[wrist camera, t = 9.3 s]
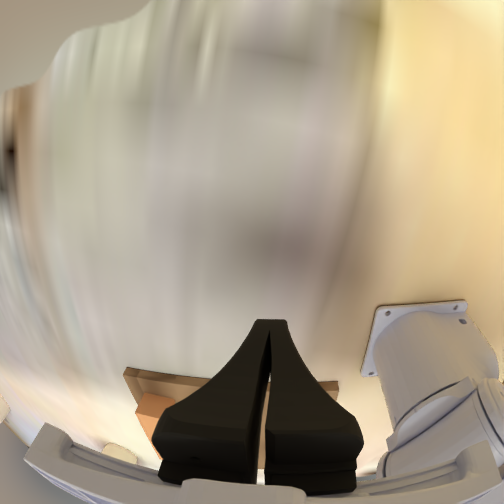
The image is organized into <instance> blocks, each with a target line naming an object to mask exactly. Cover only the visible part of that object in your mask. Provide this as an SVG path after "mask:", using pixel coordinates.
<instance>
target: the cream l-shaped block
mask: <svg viewBox="0 0 504 504" xmlns="http://www.w3.org/2000/svg"><path fill="white" fill-rule="evenodd" d="M9 411H10V407H9V405H8V404H7V402H6V401H5V399H4V398H3V396H2V395H1V394H0V424H1V422H2V421H3V420H4V418H5V417H6V415H7V414H8V413H9Z"/></svg>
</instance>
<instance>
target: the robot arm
mask: <svg viewBox="0 0 504 504" xmlns="http://www.w3.org/2000/svg"><path fill="white" fill-rule="evenodd" d="M467 306H468V303H467V302H466V301H465V300H461V301H450V302H439V303H427V304H413V305H397V306H382V307H379V308H378V309H377V310H376V312H375V317H374V322H373V326H372V330H371V335H370V339H369V343H368V347H367V350H366V354H365V358H364V362H363V365H362V369H361V376H362V377H371V376H379V380H380V383H381V387H382V390H383V394H384V397H385V401H386V404H387V408H388V412H389V416H390V420H391V423H392V427H393V431H394V433H393V434H392V435H391V436H390V437H388V438H387V439H386V441H387V446H388V450H389V451H388V452H386V453H385V454H384V455H383V456H382V457H381V459H380V460H379V463H378V466H377V471H376V479H373V480H367V481H360V482H356V473H355V470H356V469H357V462H356V458H357V457H358V455H359V453H360V452H361V450H362V448H363V445H364V440H363V435H362V432H361V429H360V427H359V424H358V422H357V420H356V418H355V417H354V416H353V415H352V414H350V413H349V412H348V411H347V410H345V409H344V408H343V407H342V406H340V405H339V404H338V403H337V402H336V401H335V400H334V399H333V398H332V397H331V396H330V395H329V394H328V393H327V392H326V391H325V390H324V389H323V388H322V387H321V385H320V384H319V383H318V382H317V380H316V379H315V378H314V377H313V375H312V374H311V372H310V371H309V370H308V368H307V367H306V365H305V363H304V362H303V360H302V358H301V357H300V355H299V353H298V351H297V349H296V347H295V345H294V343H293V340H292V338H291V335H290V332H289V329H288V325H287V321H286V320H278V319H257V320H256V321H255V322H254V325H253V327H252V329H251V331H250V332H249V334H248V336H247V337H246V339H245V340H244V342H243V343H242V345H241V346H240V348H239V349H238V351H237V352H236V353H235V354H234V356H233V357H232V358H231V359H230V361H229V362H228V363H227V364H226V365H225V366H224V367H223V368H222V369H221V370H220V371H219V372H218V373H217V374H216V375H215V376H214V377H213V378H212V379H211V380H209V381H208V382H207V383H206V384H205V385H203V386H202V387H201V388H199V389H198V390H196V391H195V392H194V393H192V394H191V395H189V396H188V397H186V398H185V399H183V400H181V401H179V402H177V403H175V404H174V405H172V406H170V407H168V408H166V409H165V410H164V412H163V413H162V415H161V417H160V418H159V420H158V422H157V424H156V427H155V429H154V432H153V435H152V438H151V441H152V444H153V446H154V447H155V449H156V450H157V452H158V453H159V454H160V456H161V457H162V459H163V460H162V463H161V466H160V469H159V471H158V470H154V469H150V468H146V467H143V466H139V465H136V464H132V463H129V462H126V461H123V460H120V459H117V458H114V457H111V456H108V455H106V454H103V453H100V452H98V451H95V450H92V449H90V448H87V447H85V446H83V445H80V444H78V443H76V442H73V440H72V439H71V437H70V436H69V435H68V434H67V433H65V432H64V431H62V430H61V429H59V428H57V427H55V426H52V425H50V424H48V423H45V424H44V425H43V427H42V428H41V430H40V431H39V433H38V435H37V436H36V438H35V440H34V441H33V443H32V445H31V446H30V448H29V450H28V451H27V453H26V455H25V456H24V460H25V461H26V462H27V463H28V464H29V465H30V466H32V467H33V468H34V469H35V470H36V471H38V472H39V473H40V474H41V475H42V476H44V477H45V478H46V479H48V480H49V481H50V482H52V483H53V484H54V485H56V486H58V487H60V488H61V489H63V490H65V491H67V492H69V493H70V494H72V495H74V496H76V497H78V498H80V499H82V500H84V501H85V502H87V503H89V504H504V385H503V384H502V383H501V382H500V381H499V380H498V377H499V367H498V361H497V357H496V354H495V352H494V350H493V348H492V347H491V345H490V344H489V343H488V341H487V340H486V338H485V337H484V336H483V334H482V333H481V332H480V330H479V329H478V328H477V326H476V325H475V324H474V322H473V321H472V320H471V318H470V317H469V316H468V315H467V313H466V309H467ZM387 311H389V312H388V313H386V312H387ZM269 376H270V377H271V381H270V391H269V400H268V408H267V415H266V423H265V456H266V457H265V467H264V474H265V485H256V483H257V471H258V459H259V447H260V435H261V423H262V414H263V408H264V403H265V398H266V392H267V387H268V381H269Z"/></svg>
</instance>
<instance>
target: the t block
mask: <svg viewBox="0 0 504 504" xmlns="http://www.w3.org/2000/svg"><path fill="white" fill-rule="evenodd" d="M174 404H175V400H174V399H172V398H167V397H162V396H158V395H153V394H149V393H145V392H144V395H143V397H142V399H141V401H140V403H139V405H138V407H137V409H136V411H135V414H136V416H137V418H138V420H139V422H140V424H141V426H142V428H143V429H144V431H145V433H146V435H147V437H148V439H149V441H150V443H151V444H152V441H151V438H152V435H153V432H154V429H155V427H156V424H157V422H158V420H159V418H160V417H161V415H162V413H163V412H164V410H165V409H166V408H168V407H170V406H172V405H174ZM152 446H153V444H152ZM153 448H154V450H155V451H156V453H157V455H158V457H159V458H160V459H162V457H161V456H160V454H159V453H158V452H157V450H156V449H155V447H154V446H153ZM162 460H163V459H162Z"/></svg>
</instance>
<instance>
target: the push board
mask: <svg viewBox="0 0 504 504" xmlns="http://www.w3.org/2000/svg"><path fill="white" fill-rule="evenodd" d="M123 376H124V379H125V381H126V383H127V385H128V387H129V389H130V391H131V393H132V395H133V397H134V399H135V401H136V403H137V404H138V405H139V403H140V401H141V399H142V397H143V395H144V392H145V393H149V394H153V395H158V396H162V397H167V398H172V399H174V400H175V403H177V402H179V401H181V400H183V399H185V398H186V397H188V396H189V395H191V394H192V393H194V392H195V391H196V390H198V389H199V388H201V387H202V386H203V385H205V384H206V383H207V382H208V381H209V380H211V379H205V378H195V377H186V376H178V375H171V374H164V373H157V372H151V371H145V370H139V369H133V368H128V367H127V368H126V370H125V372H124V373H123ZM318 383H319V384H320V385H321V387H322V388H323V389H324V390H325V391H326V392H327V393H328V394H329V395H330V396H331V397H332V398H333V399H334V400H335V401H336V400H337V396H338V393H339V387H338V381H335V382H318ZM269 391H270V382H268V387H267V392H266V398H265V403H264V408H263V414H262V423H261V435H260V447H259V459H258V469H264V467H265V457H266V456H265V423H266V415H267V408H268V400H269Z"/></svg>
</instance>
